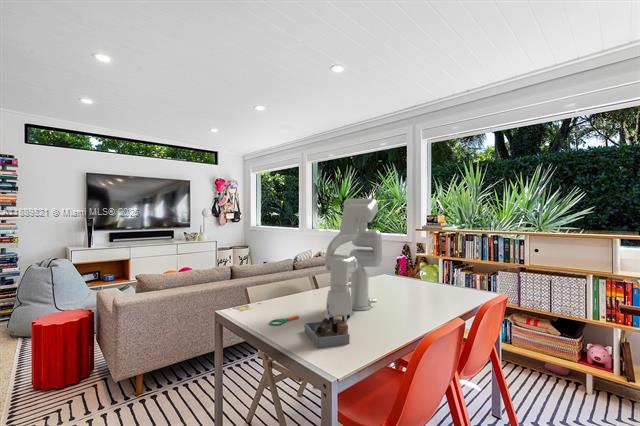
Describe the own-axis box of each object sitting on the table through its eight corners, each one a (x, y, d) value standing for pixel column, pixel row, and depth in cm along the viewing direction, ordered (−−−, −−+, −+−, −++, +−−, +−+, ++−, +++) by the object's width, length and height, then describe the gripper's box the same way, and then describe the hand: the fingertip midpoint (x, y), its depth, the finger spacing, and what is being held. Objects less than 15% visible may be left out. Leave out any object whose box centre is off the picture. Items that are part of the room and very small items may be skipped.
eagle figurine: (335, 334, 127) (334, 322, 136) (326, 321, 126) (325, 310, 135) (320, 344, 128) (319, 331, 137) (310, 331, 127) (310, 319, 135)
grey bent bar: (333, 327, 139) (333, 319, 139) (349, 343, 122) (349, 334, 122) (304, 331, 134) (304, 323, 134) (317, 348, 118) (317, 338, 118)
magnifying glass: (273, 327, 139) (273, 324, 139) (267, 324, 144) (267, 320, 144) (301, 320, 148) (301, 317, 148) (294, 317, 153) (294, 313, 153)
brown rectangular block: (336, 329, 136) (336, 315, 136) (347, 340, 125) (347, 325, 125) (330, 330, 135) (330, 316, 135) (341, 341, 124) (341, 326, 124)
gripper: (353, 284, 136) (353, 326, 136) (318, 287, 131) (317, 330, 131) (361, 288, 129) (360, 332, 129) (324, 291, 124) (323, 337, 124)
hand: (339, 331), depth 130 cm, fingers closed on brown rectangular block, 3 cm apart
